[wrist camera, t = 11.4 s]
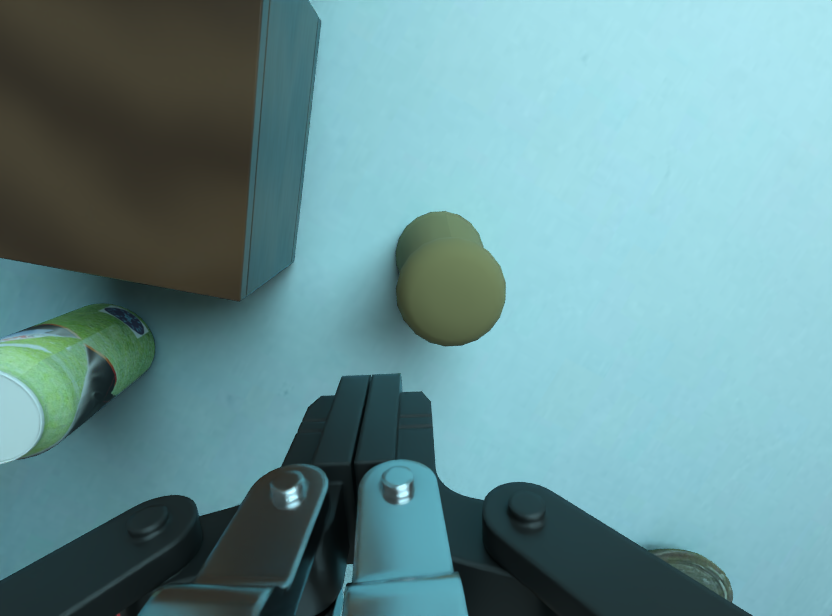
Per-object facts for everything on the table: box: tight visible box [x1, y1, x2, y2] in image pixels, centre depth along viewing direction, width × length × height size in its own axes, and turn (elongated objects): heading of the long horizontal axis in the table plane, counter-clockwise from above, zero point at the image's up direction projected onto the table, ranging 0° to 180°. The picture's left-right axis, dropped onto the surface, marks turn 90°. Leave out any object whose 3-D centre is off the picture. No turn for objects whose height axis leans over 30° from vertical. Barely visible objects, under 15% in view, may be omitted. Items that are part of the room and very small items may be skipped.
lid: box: [649, 549, 733, 603], centre depth 36 cm, size 11×10×5 cm
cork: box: [396, 211, 506, 346], centre depth 24 cm, size 6×6×11 cm
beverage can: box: [0, 303, 155, 464], centre depth 25 cm, size 6×7×12 cm
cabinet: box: [0, 0, 321, 301], centre depth 22 cm, size 15×13×10 cm
